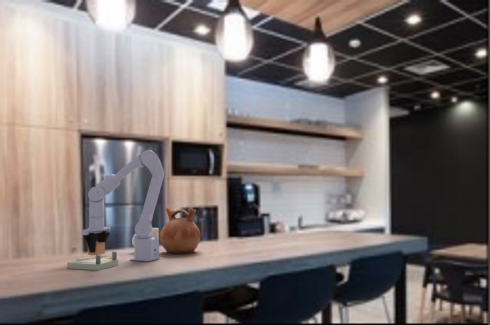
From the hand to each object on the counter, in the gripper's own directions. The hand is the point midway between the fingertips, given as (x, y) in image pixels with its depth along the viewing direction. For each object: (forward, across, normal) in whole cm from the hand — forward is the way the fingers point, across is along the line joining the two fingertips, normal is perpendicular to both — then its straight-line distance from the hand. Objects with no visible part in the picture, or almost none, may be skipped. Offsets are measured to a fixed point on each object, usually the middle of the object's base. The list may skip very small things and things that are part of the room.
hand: (96, 251), depth 167 cm
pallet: (+4, 0, 0) cm, 4 cm away
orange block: (+1, 0, 0) cm, 1 cm away
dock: (+4, +10, +7) cm, 13 cm away
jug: (+4, -30, +21) cm, 37 cm away
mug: (+4, -28, +4) cm, 28 cm away
